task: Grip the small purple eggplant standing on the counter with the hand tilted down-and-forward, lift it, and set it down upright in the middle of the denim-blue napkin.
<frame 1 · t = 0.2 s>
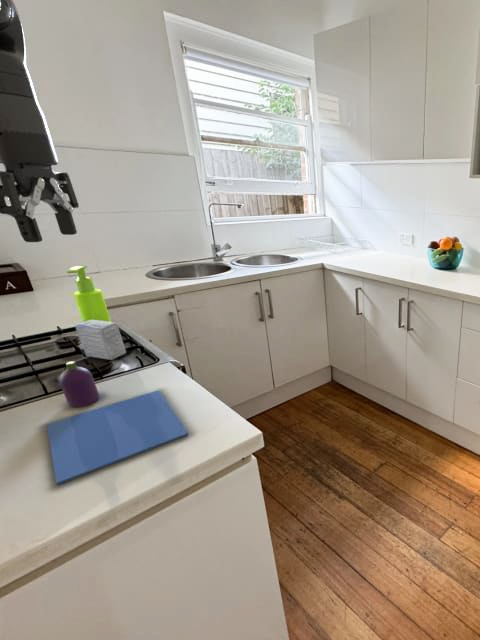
hand: (52, 237, 65), 33 cm above the worktop, tool pointing down, fingers open, 8 cm apart
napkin: (117, 430, 69), on the worktop
soap dispenser: (101, 338, 107), on the worktop
medicine box: (106, 356, 97), on the worktop
eggplant: (84, 400, 78), on the worktop
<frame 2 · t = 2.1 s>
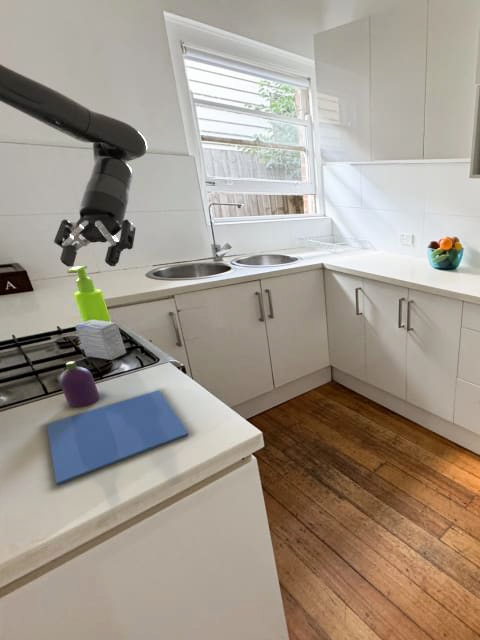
hand: (88, 264, 79), 25 cm above the worktop, tool tilted 45°, fingers open, 8 cm apart
nothing on the worktop moved.
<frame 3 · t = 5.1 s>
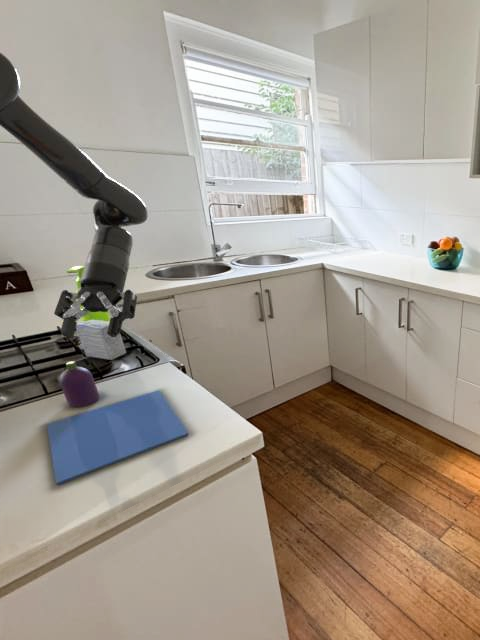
hand: (89, 336, 80), 11 cm above the worktop, tool tilted 45°, fingers open, 8 cm apart
nothing on the worktop moved.
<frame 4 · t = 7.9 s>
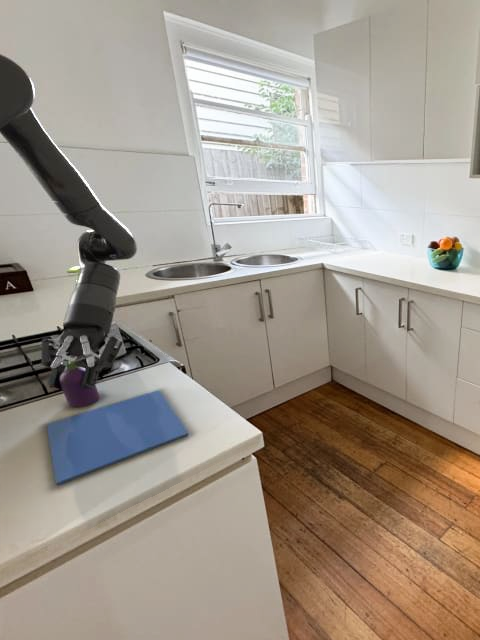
hand: (71, 387, 74), 4 cm above the worktop, tool tilted 45°, fingers closed on eggplant, 5 cm apart
eggplant: (84, 400, 78), on the worktop, touching gripper
everything else where it was.
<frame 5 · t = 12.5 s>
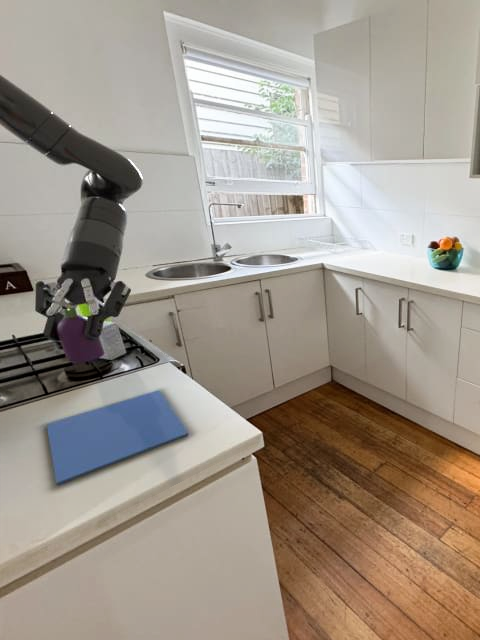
hand: (71, 338, 63), 18 cm above the worktop, tool tilted 45°, fingers closed on eggplant, 5 cm apart
eggplant: (86, 356, 66), point 14 cm above the worktop, touching gripper
everything else where it was.
when the fingers open (5 cm above the worktop, at t = 17.0 s): eggplant stays where it is, resting on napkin.
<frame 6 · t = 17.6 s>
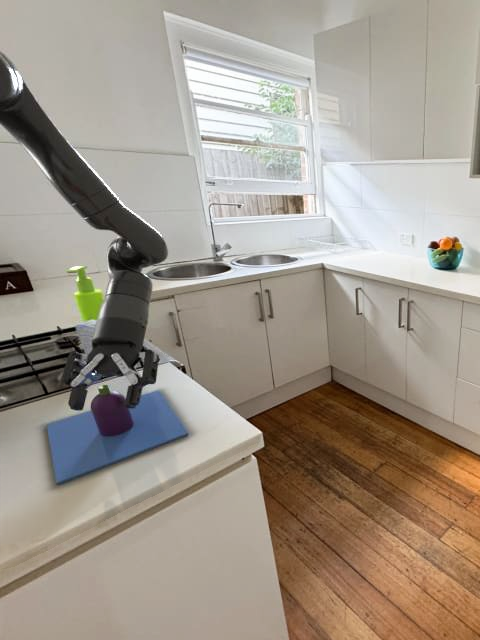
hand: (103, 408, 66), 6 cm above the worktop, tool tilted 45°, fingers open, 8 cm apart
eggplant: (117, 428, 69), resting on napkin
everything else where it was.
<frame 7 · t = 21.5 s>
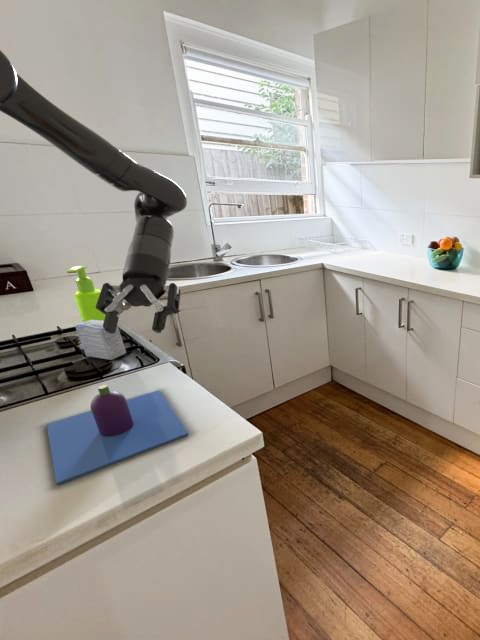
hand: (133, 331, 75), 14 cm above the worktop, tool tilted 45°, fingers open, 8 cm apart
nothing on the worktop moved.
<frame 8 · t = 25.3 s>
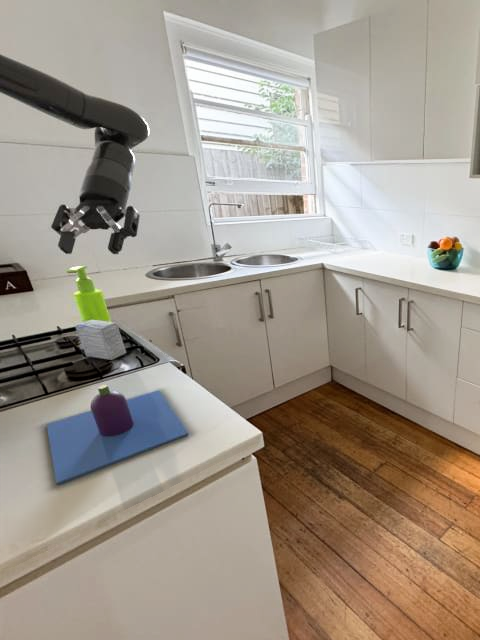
hand: (89, 251, 75), 29 cm above the worktop, tool tilted 45°, fingers open, 8 cm apart
nothing on the worktop moved.
at the end: eggplant inside the target area on the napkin (0.1 cm from its centre), point 0.4 cm above the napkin's base; eggplant tilted 0°; the gripper is holding nothing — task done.
